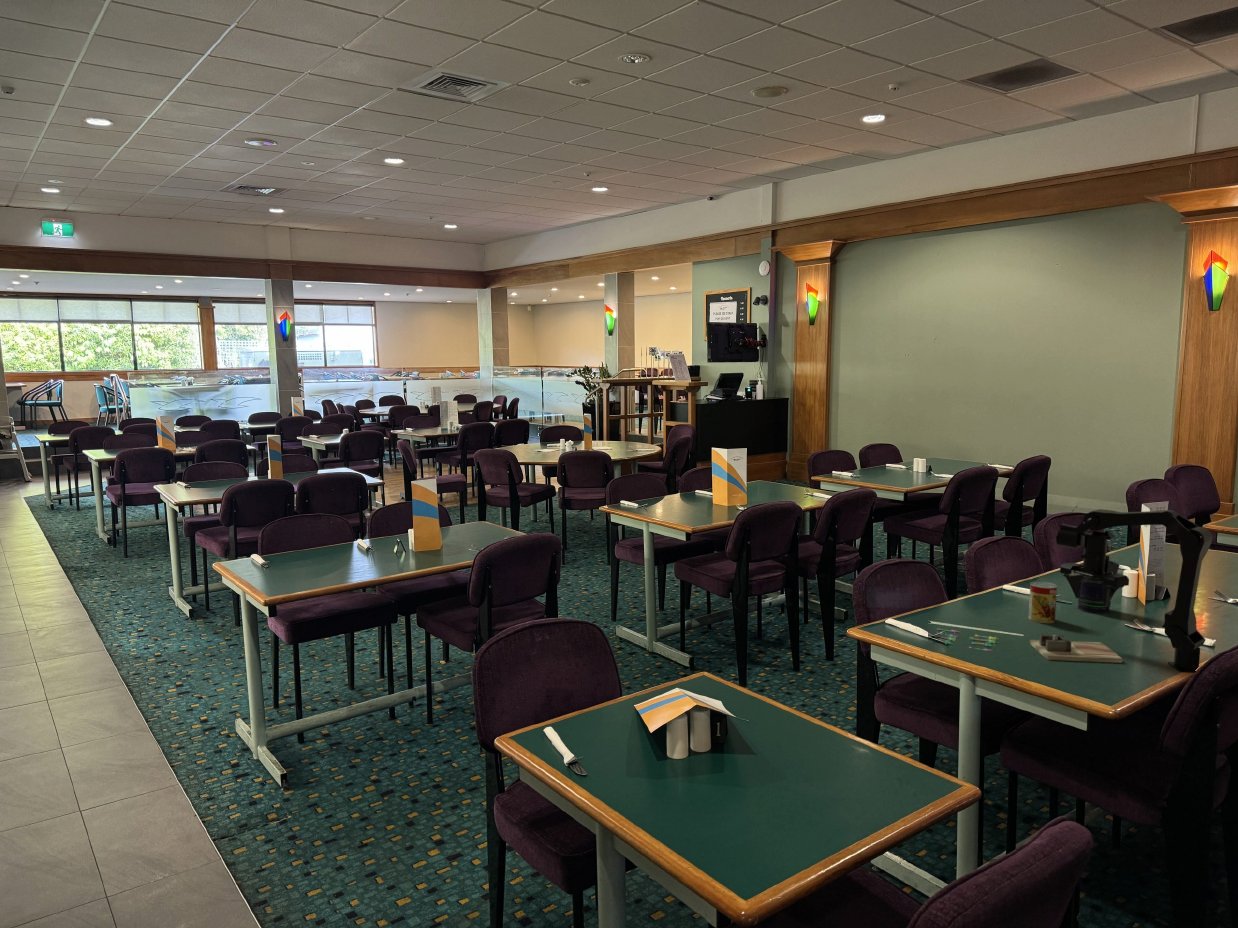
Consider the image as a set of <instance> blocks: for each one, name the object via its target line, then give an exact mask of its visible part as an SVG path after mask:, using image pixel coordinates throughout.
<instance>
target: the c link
mask: <svg viewBox="0 0 1238 928" xmlns="http://www.w3.org/2000/svg"><path fill="white" fill-rule="evenodd" d="M1053 635H1054V634H1044V633H1043V634H1041V633H1040V634H1039V639H1038V640H1039V644H1040V645H1041V646H1046V649H1045V650H1047V651H1051V652H1071V642H1070V641H1071V640H1070V639H1068V638H1067V637H1065V636H1064V635H1062V634H1057V635H1058V640H1053Z"/></svg>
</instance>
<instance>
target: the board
mask: <svg viewBox="0 0 1238 928" xmlns="http://www.w3.org/2000/svg"><path fill="white" fill-rule="evenodd" d="M1052 635H1053V640H1058V635H1059V634H1052ZM1069 641H1070V642H1071V652H1051V651H1047V650H1045V649H1046V646H1041V645H1040V644H1039V639H1030V640H1029V644H1030V645H1031V646H1032V647H1033V648H1034V649H1035V650H1036V651H1037V652H1038V653H1040V654H1041V656H1043V657H1044V658H1045V659H1046V660H1047V661H1048V660H1049V661H1069V662H1070V661H1073V662H1074V661H1075V662H1095V663H1116V664H1117V663H1120V664H1122V663H1123V658H1122V657H1121V656H1119V654H1118V653H1116V652H1115V651H1114V650H1112V649H1111V648H1110V647H1108V646H1106V645H1105V644H1103V643H1102V642H1099V641H1077V640H1076V641H1075V640H1073V641H1072V640H1069Z"/></svg>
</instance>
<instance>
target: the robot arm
mask: <svg viewBox="0 0 1238 928" xmlns="http://www.w3.org/2000/svg"><path fill="white" fill-rule="evenodd" d="M1158 525H1159V526H1161V525H1162V526H1163V527H1165V528H1166V529H1167V530H1168V531H1169V532H1170V534H1171V535H1172V536H1173V537H1174V538H1175V539H1177V540H1178V541H1179V550H1180V555H1181V558H1182V562H1181V568H1180V574H1179V580H1178V586H1177V592H1176V597H1175V598H1176V599H1175V603H1174V608H1173V609H1172V610H1169V611H1168V612H1165V613H1164V623H1163V625H1162V626H1161V628H1164V635H1165V636H1166V637H1167V638H1168V640H1170V643H1171V646H1172V648H1173V649H1174V653H1173V654H1174V656H1173V661H1167V664H1168V665H1169V666H1171V667H1173V668H1174V669H1176V670H1177V671H1178V672H1183V673H1195V672H1194V671H1195V670H1196V669H1197V668H1198V667H1200V657H1201V648H1200V647H1202V646H1203V645H1204V644H1205V642H1206V638H1205V637H1204V636H1203V635H1202V634H1201V632H1200V631H1198V629H1197V618H1196V614H1195V604H1196V600H1197V598H1196V596H1197V592H1198V587H1199V581H1200V574H1201V570H1202V564H1203V560H1204V558H1205V557H1206V555H1207V553H1208V551H1209V549H1210V547H1211V544H1212V542H1213V535H1212V533H1211V531H1210V530H1209V529H1207V528H1205V527H1203V526H1198V524H1196V523H1194V522H1193V521H1191V520H1189V519H1187V518H1185V517H1184V516H1182V515H1181V514H1180V513H1178V512H1176V510H1172V509H1167V510H1166V509H1165V510H1154V511H1153V510H1152V511H1151V510H1149V511H1124V512H1121V511H1116V510H1111V509H1110V510H1109V509H1103V508H1101V509H1095V510H1092V511H1088V512H1086V513H1085V515H1084V516H1083V521H1082V522H1081V523H1079V525H1078V526H1075V525H1070V524H1066V523H1063V524H1060V526H1059V527H1060V528H1059V530H1058V531H1057V534H1056V536H1055V537H1056V540H1055V541H1056V545H1057V546H1060V547H1064V548H1069V549H1071V548H1072V549H1078V550H1079V549H1080V548H1082V547H1084V549H1083V553H1080V558H1082V559H1083V563H1082V564H1080V563H1077V562H1066V563H1062V564H1061V565H1060V566H1059V573H1060V574H1063V575H1062V576H1063V577H1065V578H1066V580H1067V582H1068V584H1069V585H1070V587H1071V590H1072V592H1073V594H1074V596H1075V599H1077V600H1078V598H1080V593H1081V581H1082V579H1083V577H1084V575H1086V576H1090V577H1094V578H1097V579H1101V580H1103V582H1104V583H1105V585H1102V591H1103V603H1104V606H1105V607H1106V606H1108V604H1109V603H1110V601H1111V600H1112V599H1113V596H1114V595H1115V593H1116V592H1117V590H1119V589H1121V588H1124V587H1125V586H1126V587H1127V586H1129V585H1130V578H1129V576H1127V575H1125V574H1121V573H1119V568H1120V564H1119V563H1117V562H1114V561H1111V560H1110V555H1107V547H1108V546H1107V545H1108V540H1113V539H1116V535H1115V534H1114V533H1112V532H1111V530H1110V529H1109V528H1115V527H1120V526H1121V527H1122V526H1125V527H1126V526H1129V527H1130V526H1158ZM1105 529H1108V530H1105ZM1100 530H1105V531H1100ZM1088 531H1092V532H1088ZM1110 572H1111V573H1112V574H1105V573H1110ZM1090 573H1091V574H1090ZM1097 575H1099V576H1097ZM1111 602H1112V601H1111Z"/></svg>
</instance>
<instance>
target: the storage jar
mask: <svg viewBox="0 0 1238 928" xmlns="http://www.w3.org/2000/svg"><path fill="white" fill-rule="evenodd" d="M1090 574H1091V573H1090ZM1105 574H1113V573H1111V572H1110V573H1105ZM1097 576H1099V575H1097ZM1102 585H1105V583H1104V582H1103V580H1101V579H1097V578H1094V577H1090V576H1086V575H1084V577H1083V579H1082V581H1081V593H1080V598H1078V599H1077V604H1078V605H1077V609H1078V610H1079V611H1082V612H1084V613H1088V614H1097V615H1106V614H1109V613H1110V611H1111V610H1110V608H1111V604H1112V601H1110V603H1109V604H1108V606H1106V607H1105V606H1104V603H1103V591H1102Z"/></svg>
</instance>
